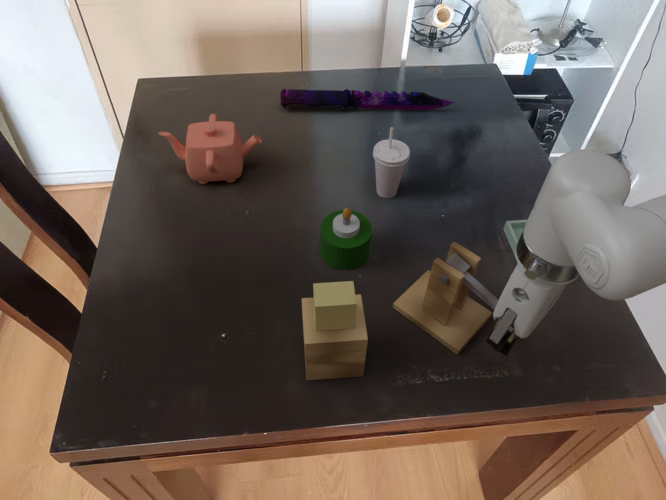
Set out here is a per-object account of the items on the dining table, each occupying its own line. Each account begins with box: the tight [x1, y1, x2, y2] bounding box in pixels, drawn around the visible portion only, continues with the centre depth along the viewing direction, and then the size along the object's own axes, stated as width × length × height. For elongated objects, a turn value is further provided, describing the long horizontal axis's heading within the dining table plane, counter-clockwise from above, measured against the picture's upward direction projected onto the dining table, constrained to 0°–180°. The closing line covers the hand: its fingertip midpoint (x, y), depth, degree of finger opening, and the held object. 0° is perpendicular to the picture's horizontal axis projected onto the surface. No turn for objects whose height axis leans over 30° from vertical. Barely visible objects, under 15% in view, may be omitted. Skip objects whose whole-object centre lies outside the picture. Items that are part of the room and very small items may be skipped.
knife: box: [279, 88, 456, 112], centre depth 114 cm, size 37×4×5 cm, turn 89°
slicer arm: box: [444, 253, 514, 333], centre depth 73 cm, size 13×5×2 cm, turn 47°
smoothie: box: [372, 126, 411, 199], centre depth 94 cm, size 6×6×14 cm
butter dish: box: [502, 219, 528, 257], centre depth 90 cm, size 11×9×2 cm
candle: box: [319, 207, 373, 271], centre depth 86 cm, size 8×8×10 cm
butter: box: [312, 280, 357, 331], centre depth 67 cm, size 5×4×6 cm
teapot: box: [157, 113, 262, 185], centre depth 99 cm, size 14×12×10 cm
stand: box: [301, 293, 369, 381], centre depth 73 cm, size 8×7×10 cm
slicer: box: [392, 241, 493, 355], centre depth 77 cm, size 12×9×13 cm
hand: (508, 333), depth 74 cm, fingers closed on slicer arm, 5 cm apart
